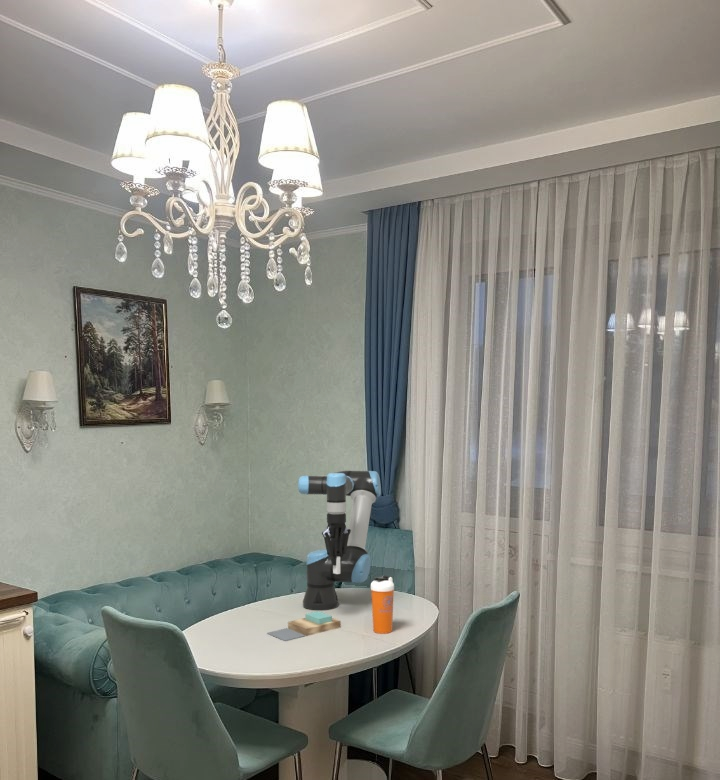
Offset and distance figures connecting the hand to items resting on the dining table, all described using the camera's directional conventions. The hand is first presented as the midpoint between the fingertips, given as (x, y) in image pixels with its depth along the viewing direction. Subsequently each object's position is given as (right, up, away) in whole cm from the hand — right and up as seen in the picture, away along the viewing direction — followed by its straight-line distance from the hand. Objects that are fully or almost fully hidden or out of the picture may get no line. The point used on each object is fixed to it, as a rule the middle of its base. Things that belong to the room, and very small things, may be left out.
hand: (336, 573), depth 278 cm
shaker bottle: (+18, -19, -12) cm, 28 cm away
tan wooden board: (-8, -19, -8) cm, 22 cm away
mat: (-18, -19, -16) cm, 31 cm away
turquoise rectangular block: (-7, -16, -6) cm, 19 cm away
